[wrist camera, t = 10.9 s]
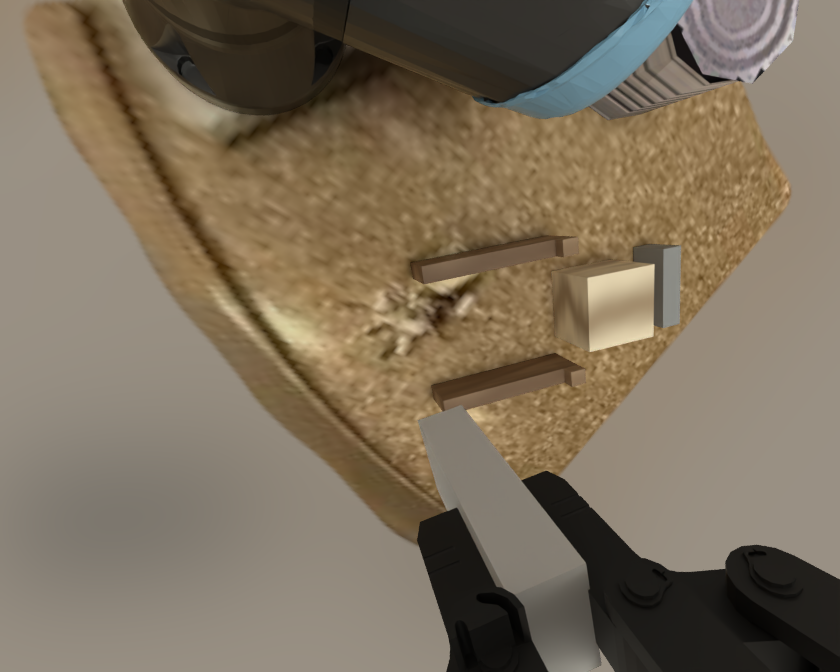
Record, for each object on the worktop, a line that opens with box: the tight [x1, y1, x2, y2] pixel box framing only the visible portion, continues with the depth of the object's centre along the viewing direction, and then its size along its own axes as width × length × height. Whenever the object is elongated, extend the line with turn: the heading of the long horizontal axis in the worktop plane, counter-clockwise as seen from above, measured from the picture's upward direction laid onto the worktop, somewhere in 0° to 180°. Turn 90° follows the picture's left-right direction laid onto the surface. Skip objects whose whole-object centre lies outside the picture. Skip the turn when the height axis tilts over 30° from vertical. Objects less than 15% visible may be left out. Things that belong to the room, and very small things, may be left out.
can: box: [589, 0, 799, 120], centre depth 33 cm, size 11×11×12 cm
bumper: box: [633, 244, 681, 328], centre depth 44 cm, size 8×2×4 cm, turn 10°
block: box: [551, 259, 655, 352], centre depth 41 cm, size 7×7×6 cm
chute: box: [411, 236, 586, 411], centre depth 40 cm, size 14×14×5 cm
